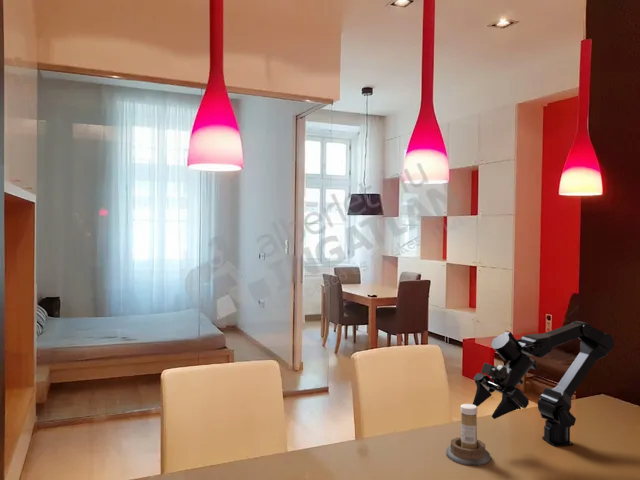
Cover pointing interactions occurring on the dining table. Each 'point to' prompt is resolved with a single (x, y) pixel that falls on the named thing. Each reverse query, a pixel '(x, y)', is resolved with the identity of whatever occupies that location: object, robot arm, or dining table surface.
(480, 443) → the collar socket
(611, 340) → the robot arm
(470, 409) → the sprinkles bottle
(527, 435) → the dining table surface
